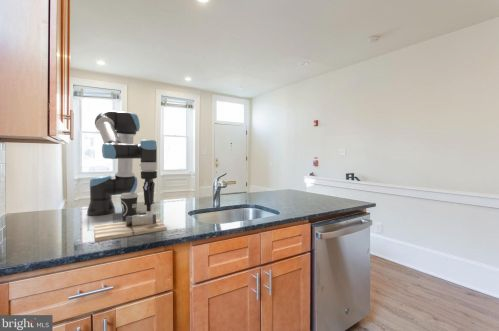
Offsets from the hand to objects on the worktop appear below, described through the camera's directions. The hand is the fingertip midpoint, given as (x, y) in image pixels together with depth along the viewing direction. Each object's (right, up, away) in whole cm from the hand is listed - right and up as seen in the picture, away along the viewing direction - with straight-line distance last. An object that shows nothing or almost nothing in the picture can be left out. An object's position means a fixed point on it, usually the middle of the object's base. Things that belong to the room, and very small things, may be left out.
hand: (149, 217), depth 124 cm
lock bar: (-5, -4, +1) cm, 6 cm away
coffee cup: (-18, -5, +16) cm, 24 cm away
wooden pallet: (-8, -6, -2) cm, 10 cm away
